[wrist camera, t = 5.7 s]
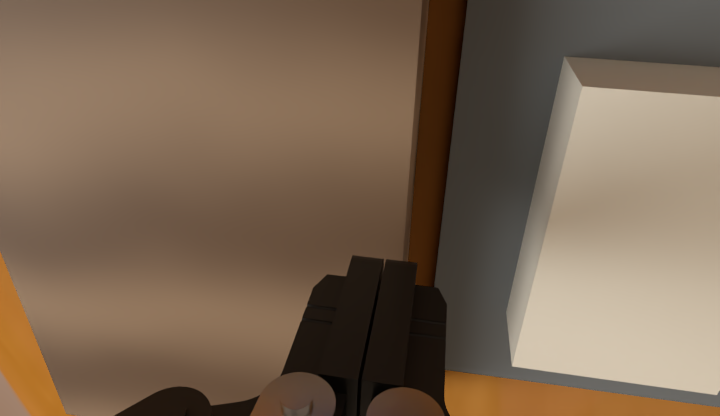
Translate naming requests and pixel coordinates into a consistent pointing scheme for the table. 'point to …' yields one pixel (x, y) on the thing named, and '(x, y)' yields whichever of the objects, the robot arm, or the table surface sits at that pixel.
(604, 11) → the mat
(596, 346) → the cream rectangular block
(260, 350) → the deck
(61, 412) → the table surface
